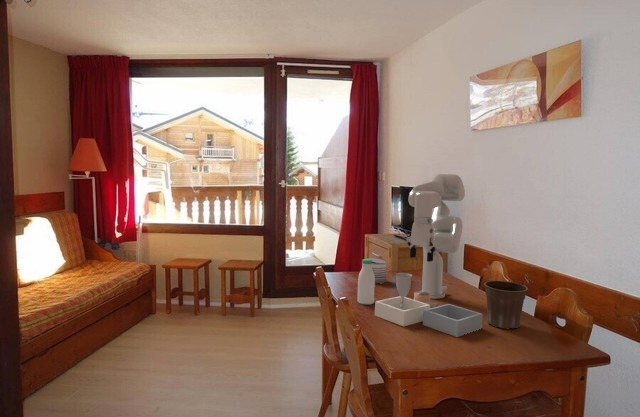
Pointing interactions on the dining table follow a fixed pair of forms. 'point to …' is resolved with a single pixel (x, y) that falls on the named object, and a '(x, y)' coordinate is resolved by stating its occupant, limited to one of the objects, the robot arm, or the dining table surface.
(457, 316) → the frame
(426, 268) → the robot arm
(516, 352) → the dining table surface
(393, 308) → the frame
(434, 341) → the dining table surface
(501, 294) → the plant pot
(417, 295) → the terracotta pot
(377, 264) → the can
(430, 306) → the walnut block
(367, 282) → the milk bottle
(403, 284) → the chalice
